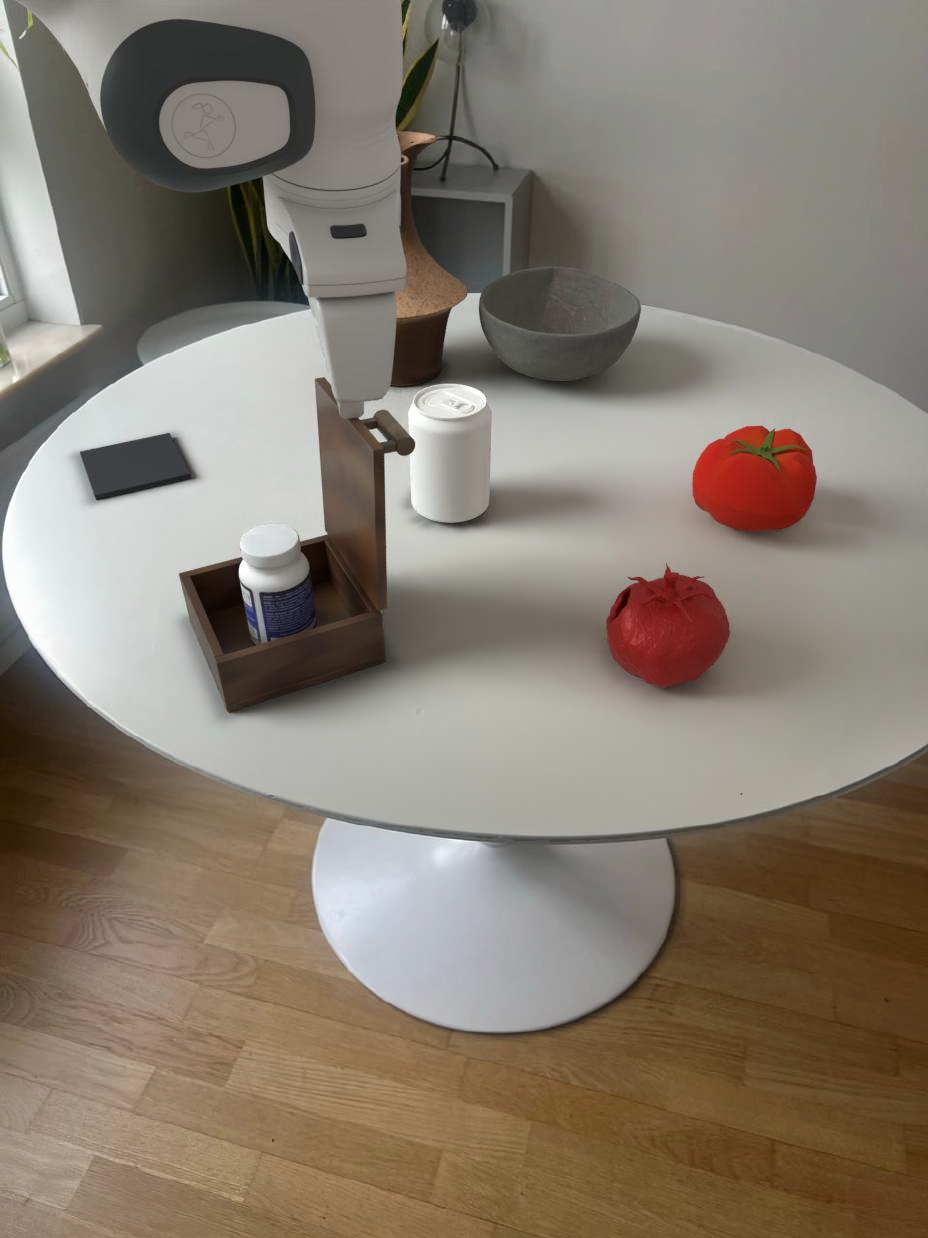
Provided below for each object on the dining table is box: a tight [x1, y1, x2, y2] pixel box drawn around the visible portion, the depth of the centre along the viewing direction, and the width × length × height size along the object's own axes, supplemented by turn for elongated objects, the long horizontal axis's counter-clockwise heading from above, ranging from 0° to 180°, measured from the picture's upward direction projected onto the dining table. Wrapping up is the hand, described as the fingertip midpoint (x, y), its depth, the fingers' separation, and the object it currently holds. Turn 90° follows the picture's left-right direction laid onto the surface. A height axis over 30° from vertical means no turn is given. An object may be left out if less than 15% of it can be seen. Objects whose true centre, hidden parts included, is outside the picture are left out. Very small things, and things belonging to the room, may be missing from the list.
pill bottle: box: [239, 523, 317, 645], centre depth 77 cm, size 6×6×10 cm
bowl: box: [478, 266, 642, 382], centre depth 118 cm, size 20×20×10 cm
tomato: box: [691, 425, 818, 532], centre depth 93 cm, size 13×12×8 cm
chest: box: [178, 533, 386, 713], centre depth 79 cm, size 14×13×5 cm
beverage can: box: [407, 383, 493, 524], centre depth 93 cm, size 8×8×12 cm
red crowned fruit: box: [605, 562, 731, 688], centre depth 76 cm, size 10×10×9 cm
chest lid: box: [314, 376, 415, 611], centre depth 75 cm, size 14×13×5 cm
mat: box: [79, 432, 192, 501], centre depth 102 cm, size 10×10×1 cm
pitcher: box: [390, 130, 469, 386], centre depth 113 cm, size 18×17×28 cm
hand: (339, 372), depth 72 cm, fingers open, 8 cm apart
